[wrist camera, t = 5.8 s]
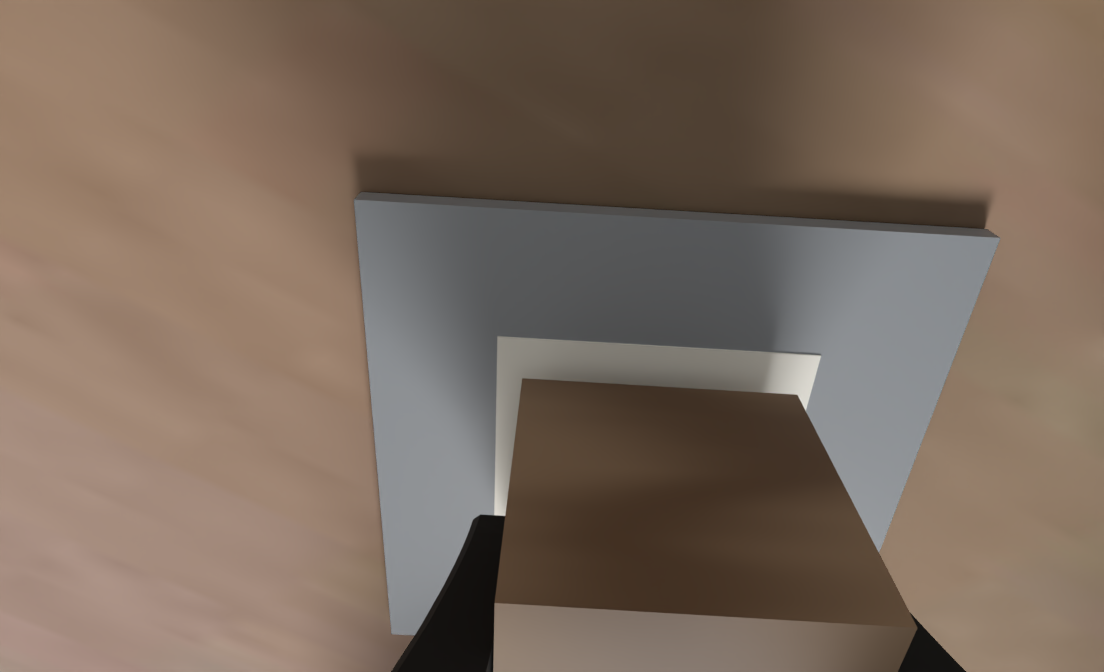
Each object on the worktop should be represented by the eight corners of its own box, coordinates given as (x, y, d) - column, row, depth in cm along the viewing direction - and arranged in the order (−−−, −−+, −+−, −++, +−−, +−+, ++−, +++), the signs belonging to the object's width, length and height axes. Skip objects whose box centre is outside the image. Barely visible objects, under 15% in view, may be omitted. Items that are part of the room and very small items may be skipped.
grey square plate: (986, 229, 11) (1001, 238, 11) (832, 643, 16) (838, 660, 15) (360, 192, 11) (353, 200, 11) (395, 618, 16) (391, 635, 15)
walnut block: (797, 394, 11) (917, 627, 7) (746, 588, 13) (818, 850, 10) (521, 378, 11) (494, 602, 7) (514, 575, 13) (490, 830, 10)
